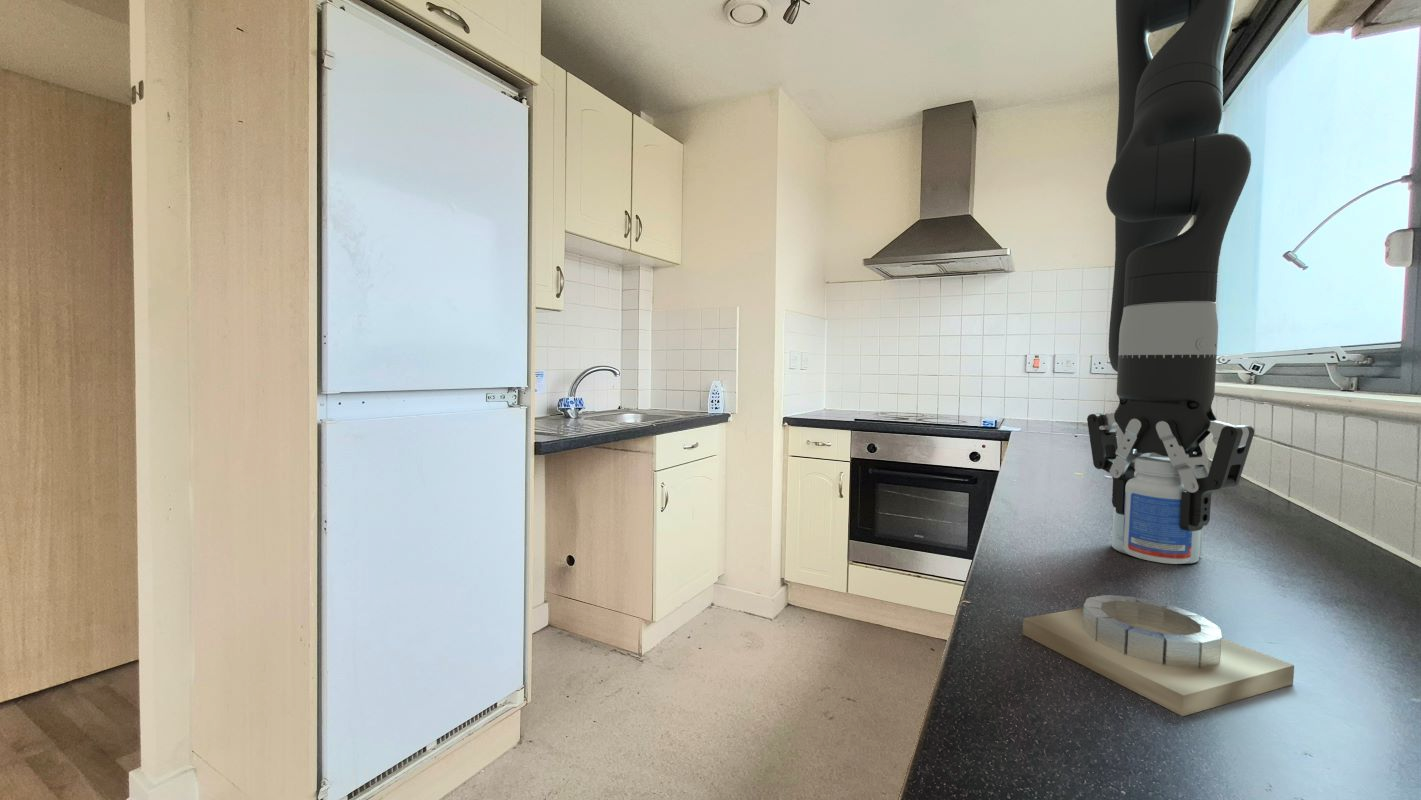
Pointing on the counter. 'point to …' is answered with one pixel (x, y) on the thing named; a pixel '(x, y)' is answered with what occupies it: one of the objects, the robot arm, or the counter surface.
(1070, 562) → the counter surface
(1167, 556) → the pill bottle
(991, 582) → the counter surface
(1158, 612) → the steel collar
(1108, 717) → the counter surface
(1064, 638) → the carrier plate
